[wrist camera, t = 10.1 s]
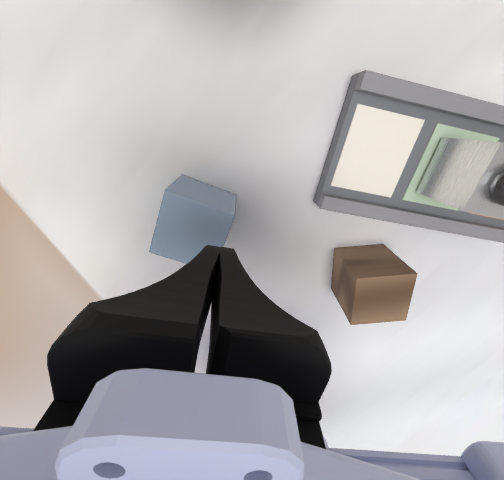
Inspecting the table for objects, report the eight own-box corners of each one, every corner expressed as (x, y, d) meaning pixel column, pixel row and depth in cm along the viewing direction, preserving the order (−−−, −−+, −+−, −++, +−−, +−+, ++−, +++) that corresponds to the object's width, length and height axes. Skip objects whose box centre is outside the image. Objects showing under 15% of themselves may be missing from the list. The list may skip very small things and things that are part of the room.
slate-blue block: (218, 241, 22) (213, 271, 18) (168, 224, 22) (149, 251, 17) (236, 194, 21) (235, 215, 16) (182, 174, 20) (165, 190, 15)
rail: (499, 235, 23) (522, 246, 21) (313, 200, 21) (320, 208, 19) (569, 131, 19) (605, 132, 18) (352, 75, 17) (366, 70, 15)
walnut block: (376, 284, 25) (405, 320, 21) (330, 288, 25) (350, 324, 21) (382, 243, 23) (417, 273, 19) (334, 247, 23) (356, 278, 19)
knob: (461, 201, 20) (527, 225, 15) (415, 192, 20) (470, 214, 15) (491, 148, 18) (575, 158, 14) (442, 137, 18) (512, 143, 13)
